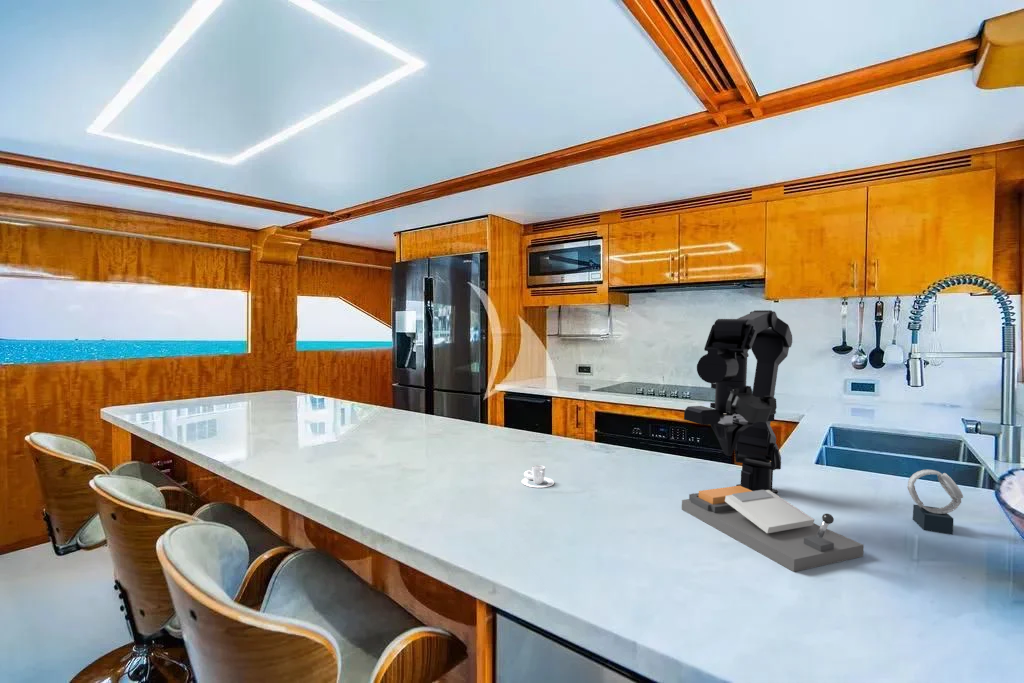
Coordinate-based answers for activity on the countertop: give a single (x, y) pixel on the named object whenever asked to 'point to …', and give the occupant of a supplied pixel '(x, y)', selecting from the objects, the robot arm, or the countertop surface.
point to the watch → (934, 516)
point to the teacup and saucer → (536, 477)
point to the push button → (720, 494)
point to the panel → (776, 537)
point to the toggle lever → (825, 524)
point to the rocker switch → (768, 511)
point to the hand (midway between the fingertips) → (727, 455)
